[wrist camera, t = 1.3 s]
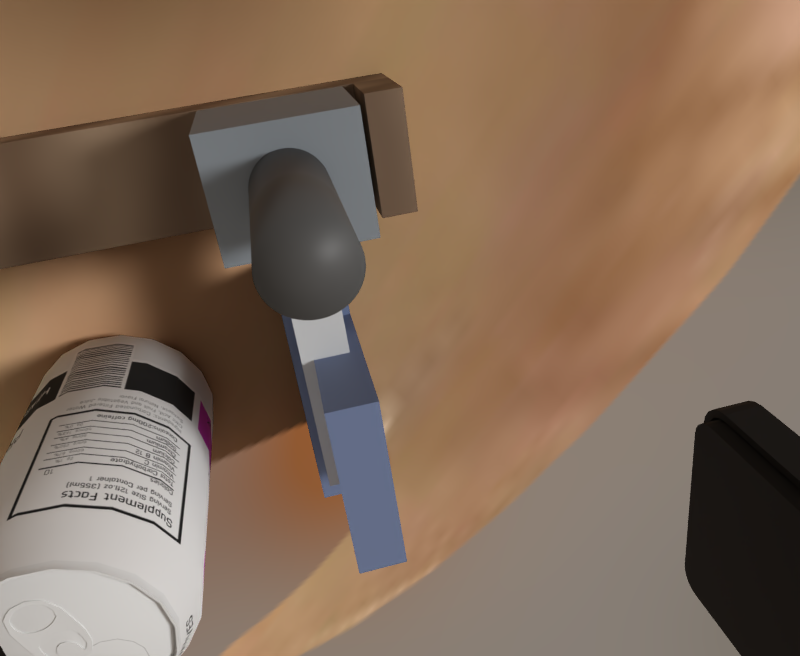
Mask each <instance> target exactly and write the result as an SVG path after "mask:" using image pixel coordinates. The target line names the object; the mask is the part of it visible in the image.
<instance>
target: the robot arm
mask: <svg viewBox="0 0 800 656" xmlns="http://www.w3.org/2000/svg"><path fill="white" fill-rule="evenodd" d="M688 519H689V520H688V531H687V545H686V557H685V571H686V576H687V579H688V582H689V584H690V586H691V588H692V590H693V591H694V593H695V594H696V596H697V597H698V599H699V600H700V601H701V603H702V604H703V605H704V607H705V608H706V609H707V610H708V612H709V613H710V615H711V616H712V617H713V618H714V620H715V621H716V622H717V624H718V625H719V627H720V628H721V629H722V631H723V632H724V633H725V635H726V636H727V637H728V638H729V640H730V641H731V643H732V644H733V645H734V647H735V648H736V649H737V651H738V652H739V653H740V655H741V656H800V436H798V435H797V434H796V433H795V432H793V431H792V430H791V429H790V428H788V427H787V426H786V425H785V424H783V423H782V422H781V421H780V420H779V419H777V418H776V417H775V416H773V415H772V414H771V413H770V412H769V411H767V410H766V409H765V408H764V407H762V406H761V405H759V404H758V403H756V402H753V401H746V402H742V403H738V404H734V405H731V406H726V407H722V408H718V409H714V410H711V411H709V412H708V413H707V415H706V416H705V420H704V423H702V424H700V425H698V427H697V428H696V432H695V441H694V454H693V467H692V481H691V493H690V506H689V518H688ZM0 656H6V654H5V653H4V651H3V649H2V648H1V646H0Z"/></svg>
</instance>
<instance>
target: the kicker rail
mask: <svg viewBox="0 0 800 656" xmlns="http://www.w3.org/2000/svg"><path fill="white" fill-rule="evenodd" d="M339 86H342V87H343V88H344V89H345V90H346V91H347V92H348V93H349V94H350V95H351V96H352V97H353V98H354V99H355V100H356V101H357V103H358V104H359V105H360V108H361V115H362V121H363V128H364V134H365V141H366V147H367V154H368V160H369V167H370V173H371V180H372V186H373V193H374V199H375V206H376V208H377V209H378V211H379V213H380V214H381V216H382V218H386V217H391V216H396V215H401V214H406V213H411V212H417V211H418V209H417V201H416V193H415V185H414V177H413V169H412V161H411V153H410V145H409V137H408V129H407V121H406V113H405V105H404V97H403V89H402V87H401V86H400V85H398V84H397V83H395V82H394V81H392V80H391V79H389V78H388V77H386V76H385V75H383V74H382V73H380V74H374V75H368V76H362V77H356V78H350V79H345V80H339V81H333V82H327V83H321V84H315V85H309V86H303V87H297V88H292V89H286V90H280V91H274V92H268V93H262V94H256V95H250V96H245V97H239V98H233V99H227V100H221V101H215V102H209V103H203V104H197V105H192V106H186V107H180V108H174V109H168V110H162V111H156V112H150V113H145V114H139V115H133V116H127V117H121V118H115V119H109V120H103V121H97V122H92V123H86V124H80V125H74V126H68V127H62V128H56V129H50V130H44V131H39V132H33V133H27V134H21V135H15V136H9V137H3V138H0V269H3V268H9V267H14V266H19V265H24V264H29V263H35V262H40V261H45V260H50V259H56V258H61V257H66V256H71V255H76V254H82V253H87V252H92V251H97V250H103V249H108V248H113V247H118V246H124V245H129V244H134V243H139V242H144V241H150V240H155V239H160V238H165V237H171V236H176V235H181V234H186V233H192V232H197V231H202V230H207V229H212V228H214V226H213V222H212V219H211V215H210V211H209V208H208V204H207V200H206V197H205V193H204V189H203V185H202V182H201V178H200V174H199V171H198V167H197V163H196V160H195V156H194V152H193V149H192V145H191V141H190V137H189V133H190V130H191V127H192V124H193V121H194V118H195V114H196V111H199V110H205V109H211V108H216V107H222V106H228V105H234V104H240V103H246V102H252V101H257V100H263V99H269V98H275V97H281V96H287V95H292V94H298V93H304V92H310V91H316V90H322V89H328V88H333V87H339Z"/></svg>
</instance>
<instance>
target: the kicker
mask: <svg viewBox="0 0 800 656" xmlns="http://www.w3.org/2000/svg"><path fill="white" fill-rule="evenodd" d="M189 137H190V141H191V145H192V149H193V152H194V156H195V160H196V163H197V167H198V171H199V174H200V178H201V182H202V185H203V189H204V193H205V197H206V200H207V204H208V208H209V211H210V215H211V219H212V222H213V226H214V230H215V234H216V237H217V241H218V245H219V248H220V252H221V256H222V259H223V263H224V267H225V268H230V267H235V266H240V265H245V264H250V263H252V277H253V282H254V285H255V288H256V290H257V292H258V294H259V295H260V297H261V298H262V299H263V301H264V302H265V303H266V304H267V305H268V306H269V307H271V308H272V309H273V310H275V311H276V312H278V313H279V314H281V315H282V319H283V323H284V328H285V332H286V336H287V340H288V345H289V349H290V353H291V357H292V361H293V366H294V370H295V374H296V378H297V382H298V387H299V391H300V395H301V399H302V403H303V408H304V412H305V416H306V420H307V425H308V429H309V433H310V437H311V441H312V445H313V450H314V454H315V458H316V462H317V466H318V471H319V475H320V479H321V483H322V488H323V492H324V496H325V498H326V497H330V496H334V495H338V494H342V496H343V500H344V505H345V510H346V514H347V519H348V523H349V528H350V532H351V537H352V541H353V546H354V550H355V555H356V559H357V564H358V568H359V573H364V572H368V571H372V570H376V569H379V568H383V567H387V566H391V565H395V564H399V563H403V562H407V559H406V553H405V547H404V542H403V536H402V530H401V524H400V519H399V513H398V507H397V502H396V496H395V490H394V485H393V479H392V473H391V467H390V462H389V456H388V450H387V445H386V439H385V433H384V428H383V422H382V416H381V411H380V405H379V400H378V397H377V394H376V391H375V388H374V385H373V382H372V379H371V376H370V373H369V370H368V367H367V364H366V361H365V358H364V355H363V352H362V349H361V346H360V343H359V340H358V337H357V334H356V331H355V327H354V324H353V321H352V318H351V315H350V311H349V306H348V304H350V303H351V301H352V300H353V299H354V298H355V297H356V295H357V294H358V292H359V290H360V288H361V286H362V284H363V281H364V277H365V269H366V263H365V256H364V252H363V249H362V246H361V244H360V242H361V241H366V240H371V239H376V238H380V232H379V225H378V219H377V212H376V206H375V199H374V193H373V186H372V180H371V173H370V167H369V160H368V154H367V147H366V141H365V134H364V128H363V121H362V115H361V108H360V105H359V104H358V103H357V101H356V100H355V99H354V98H353V97H352V96H351V95H350V94H349V93H348V92H347V91H346V90H345V89H344V88H343V87H342V86H339V87H333V88H328V89H322V90H316V91H310V92H304V93H298V94H292V95H287V96H281V97H275V98H269V99H263V100H257V101H252V102H246V103H240V104H234V105H228V106H222V107H216V108H211V109H205V110H199V111H196V114H195V118H194V121H193V124H192V127H191V130H190V133H189Z"/></svg>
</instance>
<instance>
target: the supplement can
mask: <svg viewBox="0 0 800 656" xmlns="http://www.w3.org/2000/svg"><path fill="white" fill-rule="evenodd" d="M212 434H213V394H212V392H211V390H210V388H209V386H208V384H207V382H206V380H205V378H204V376H203V374H202V372H201V371H200V370H199V369H198V368H197V367H196V366H195V365H194V364H193V363H192V362H191V361H190V360H189V359H188V358H187V357H186V356H184V355H183V354H182V353H181V352H179V351H177V350H175V349H173V348H171V347H169V346H166V345H164V344H162V343H160V342H158V341H155V340H153V339H147V338H139V337H131V336H124V335H118V336H112V337H106V338H100V339H94V340H89V341H87V342H85V343H83V344H81V345H79V346H78V347H76V348H74V349H72V350H70V351H68V352H66V353H64V354H62V356H61V357H60V358H59V359H58V360H57V361H56V362H55V364H54V365H53V366H52V367H51V368H50V369H49V370H48V372H47V373H46V374H45V375H44V377H43V379H42V381H41V383H40V385H39V387H38V389H37V391H36V393H35V395H34V397H33V399H32V401H31V403H30V405H29V407H28V409H27V411H26V413H25V415H24V418H23V420H22V422H21V424H20V426H19V428H18V430H17V432H16V434H15V436H14V438H13V440H12V442H11V444H10V446H9V448H8V450H7V452H6V454H5V456H4V458H3V460H2V462H1V464H0V646H1V648H2V649H3V651H4V653H5V654H6V656H181V655H182V653H183V652H184V651H185V650H186V648H187V647H188V646H189V644H190V641H191V639H192V637H193V635H194V632H195V630H196V628H197V626H198V624H199V621H200V619H201V616H202V599H203V583H204V567H205V550H206V532H207V516H208V500H209V484H210V467H211V450H212Z"/></svg>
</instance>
